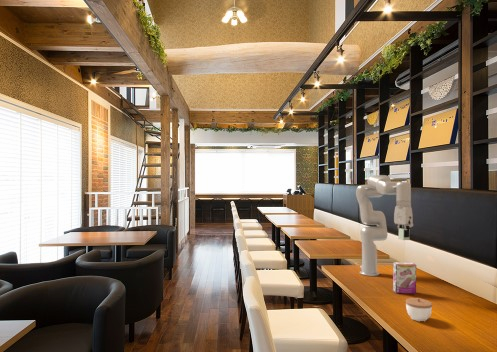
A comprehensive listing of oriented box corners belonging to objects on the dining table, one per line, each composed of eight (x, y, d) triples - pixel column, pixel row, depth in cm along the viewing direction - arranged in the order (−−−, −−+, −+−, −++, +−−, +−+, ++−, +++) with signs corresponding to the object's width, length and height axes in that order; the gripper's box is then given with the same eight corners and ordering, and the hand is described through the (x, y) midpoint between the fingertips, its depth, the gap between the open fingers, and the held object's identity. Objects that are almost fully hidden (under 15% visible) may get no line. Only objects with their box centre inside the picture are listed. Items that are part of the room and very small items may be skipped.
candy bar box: (395, 293, 193) (395, 264, 193) (392, 290, 198) (392, 261, 198) (416, 294, 192) (416, 264, 192) (413, 291, 197) (413, 262, 197)
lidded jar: (409, 312, 165) (409, 292, 165) (434, 318, 158) (434, 297, 158) (402, 319, 157) (402, 298, 157) (429, 325, 150) (428, 303, 150)
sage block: (398, 238, 197) (398, 228, 197) (404, 238, 198) (404, 228, 198) (403, 240, 193) (403, 229, 193) (409, 240, 194) (409, 229, 194)
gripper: (388, 203, 203) (388, 234, 203) (408, 205, 187) (408, 239, 187) (398, 203, 205) (399, 234, 205) (420, 204, 189) (420, 238, 189)
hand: (403, 236), depth 196 cm, fingers closed on sage block, 3 cm apart
